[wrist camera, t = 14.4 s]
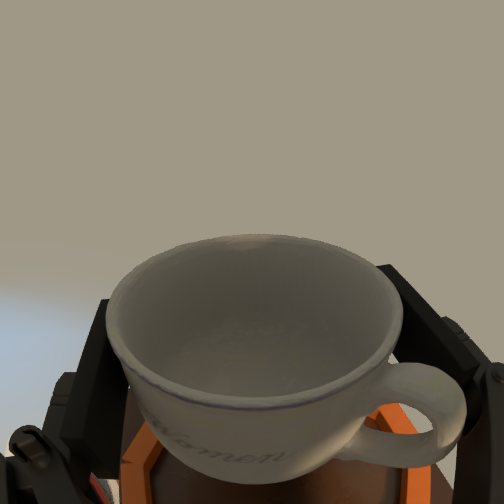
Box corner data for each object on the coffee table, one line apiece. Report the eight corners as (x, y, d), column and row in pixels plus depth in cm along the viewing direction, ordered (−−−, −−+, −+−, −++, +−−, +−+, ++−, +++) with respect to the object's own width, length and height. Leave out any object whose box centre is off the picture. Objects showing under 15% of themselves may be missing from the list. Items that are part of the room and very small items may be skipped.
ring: (351, 350, 23) (353, 339, 23) (468, 531, 9) (478, 525, 8) (127, 394, 20) (122, 383, 19) (148, 627, 5) (139, 629, 5)
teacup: (129, 385, 17) (85, 265, 13) (281, 320, 22) (281, 208, 18) (268, 599, 6) (270, 607, 3) (448, 449, 11) (526, 328, 8)
